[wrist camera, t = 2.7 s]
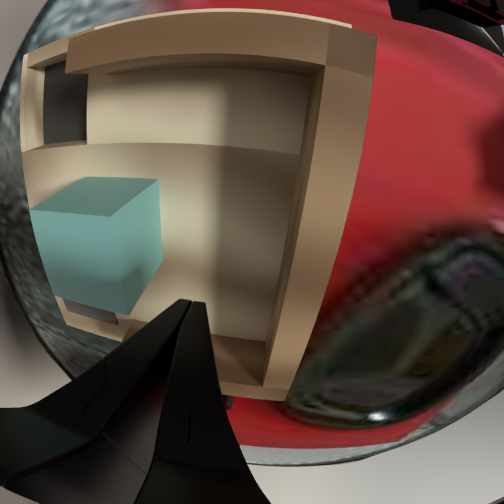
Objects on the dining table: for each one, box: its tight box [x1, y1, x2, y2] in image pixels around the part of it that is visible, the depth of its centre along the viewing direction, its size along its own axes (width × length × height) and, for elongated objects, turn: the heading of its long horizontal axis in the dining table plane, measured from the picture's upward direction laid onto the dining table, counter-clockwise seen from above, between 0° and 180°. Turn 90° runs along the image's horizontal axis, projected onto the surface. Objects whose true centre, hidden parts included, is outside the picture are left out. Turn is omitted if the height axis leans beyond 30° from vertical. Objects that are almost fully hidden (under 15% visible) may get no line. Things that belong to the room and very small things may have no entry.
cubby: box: [65, 12, 377, 401], centre depth 12 cm, size 18×10×4 cm, turn 174°
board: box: [20, 8, 352, 342], centre depth 14 cm, size 21×18×2 cm
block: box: [29, 177, 163, 316], centre depth 11 cm, size 4×4×4 cm
